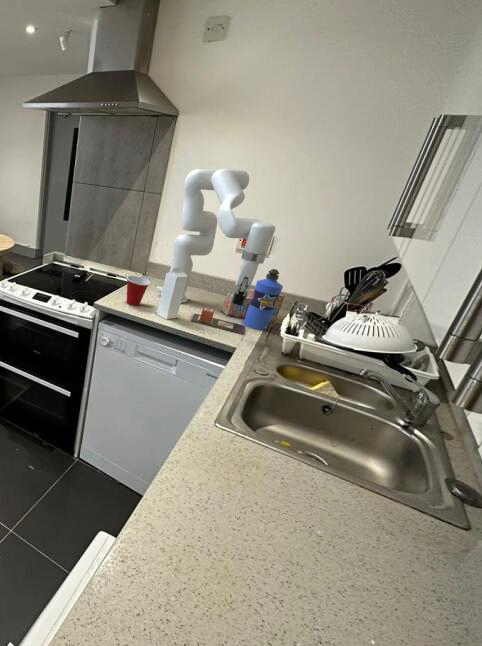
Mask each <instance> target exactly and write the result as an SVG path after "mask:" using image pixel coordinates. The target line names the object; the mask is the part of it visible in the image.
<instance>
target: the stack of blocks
mask: <svg viewBox="0 0 482 646" xmlns="http://www.w3.org/2000/svg"><path fill="white" fill-rule="evenodd" d="M254 291H255V288H249V290H248V294H247V298H246V301H245V303H244V306H241V305H237V304H233V303H231V300H232V297H233V294H234V292H227V294H226V297H225V300H224V302H223V306H222V308H221V312H223V313H224V314H225V316H227V317H236V318H244V319H245V316H246V313H247V311H248V308H249V305H250V303H251V301H252V299H253V296H254ZM284 299H285V295H283V294H282V292H281V293H280V294H279V296H278V298H277V300H276V302H275V306H274V311H273V313H272V316H271V319H270V321H269V322H276V320H277V318H278V315H279V312H280V310H281V308H282V305H283V302H284Z"/></svg>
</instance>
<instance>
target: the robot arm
mask: <svg viewBox="0 0 482 646" xmlns="http://www.w3.org/2000/svg"><path fill="white" fill-rule="evenodd" d="M249 183H250V176H249V173H248V172H247V171H246V170H244V169H241V168H240V169H238V168H227V167H226V168H220V169H211V168H197V169H193V170H191V171H190V172H189V173H188V174H187V176H186V178H185V180H184V183H183V195H184V197H183V205H182V213H181V218H180V227H181V229H182V230H183V231H186V232H195V233H196V232H197V233H199V234H194V233H193V234H191V233H189V234H187V233H184V234H180V235H178V236H177V237H176V238H175V239H174V242H173V253H172V260H171V263H170V269H169V272H171V271H173V268H175V267H184V270H183V271H184V272H185V274H186V275H187V280H186V284H185V288H184V292H183V295H182V299H181V303H180V304H183V303H187V302H188V297H187V296H186V294H187V290H188V285H189V282H190V278H191V275H192V271H193V267H194V262H193V259H192V256H198V257H199V256H208V255H209V254H211V252H212V250H213V248H214V244H215V240H216V239H215V238H216V233H217V228H218V225H219V228H220V230H221V232H222V234H223V235H224V236H225V237H227V238H228V239H242V240H246V241H245V244H244V248H243V251H242V253H241V257H240V260H241V261H242V263H241V266H240V268H239V272H238V275H237V277H236V281H235V284H234V285H235V287H237V290H238V291H237V294H236V295H235V298H234V300H233V304H237V305H242V303H243V300H244V298H245V293H246V292H247V290H248V289H250V287H251V285H252V283H253V281H254V279H255V276H256V274H257V270H258V269H259V265H260V264H264V263H265V259H266V257H267V254H268V250H269V248H270V246H271V243H272V240H273V237H274V235H275V232H276V226H275V225H274V224H271V223H268V222H264V221H262V220H260V219H257V218H246V217H236V215H235V213H234V211H233V209H235V208H237V207H239V206H240V205H241V204H242V203H243V202H244V200H245V198H246V195H245V192H244V190H246V189H247V187H248V185H249ZM203 190H204V191H214V192H215V194H216V196H217V198H218V200H219V203H220V204H221V205H220V207H219V209H218V212H217V215H216V213H214V212H213V211H210V210H204V206H205V197H204V194H203V192H202V191H203ZM162 290H163V287H161V286H158V285H157V286H156V287H155V291H157V292H160V297H161V294H162Z"/></svg>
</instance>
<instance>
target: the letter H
mask: <svg viewBox="0 0 482 646" xmlns="http://www.w3.org/2000/svg"><path fill="white" fill-rule="evenodd" d="M200 315H201V316H200V320H202V321H206V322H210V323H211V321H212V318H214V315H215V309H213V308H208V307H203V308H202V310H201V314H200Z"/></svg>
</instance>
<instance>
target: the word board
mask: <svg viewBox="0 0 482 646" xmlns="http://www.w3.org/2000/svg"><path fill="white" fill-rule="evenodd" d="M200 316H201V314H199V313H194V314H193V316H192V318H191V320H190V322H192V323H195V324H200V325H204V326H207V327H211V328H216V329H219V330H223V331H226V332H230V333H231V332H232V333H235V334H239V335H244V333H245V325H244V324H240V323H236V322H232V321H227V320H224V319H221V318H217V317H213V318H212V321H211V323H210V322H206V321H202V320H200Z"/></svg>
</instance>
